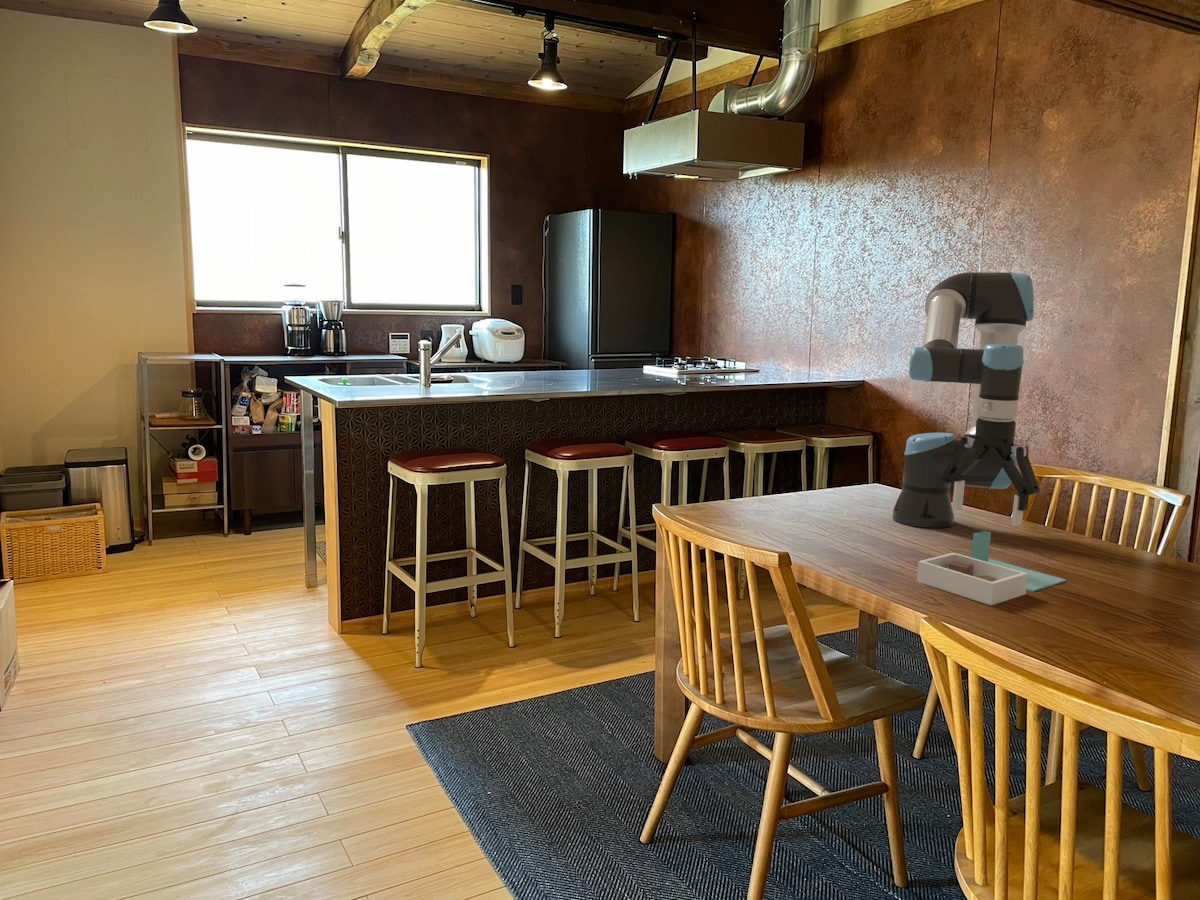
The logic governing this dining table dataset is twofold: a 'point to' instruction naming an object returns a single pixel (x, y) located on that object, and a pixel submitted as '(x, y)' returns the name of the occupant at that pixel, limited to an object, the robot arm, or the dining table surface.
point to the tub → (973, 579)
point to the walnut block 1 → (962, 567)
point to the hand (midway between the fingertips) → (985, 517)
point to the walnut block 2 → (987, 578)
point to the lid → (1034, 578)
